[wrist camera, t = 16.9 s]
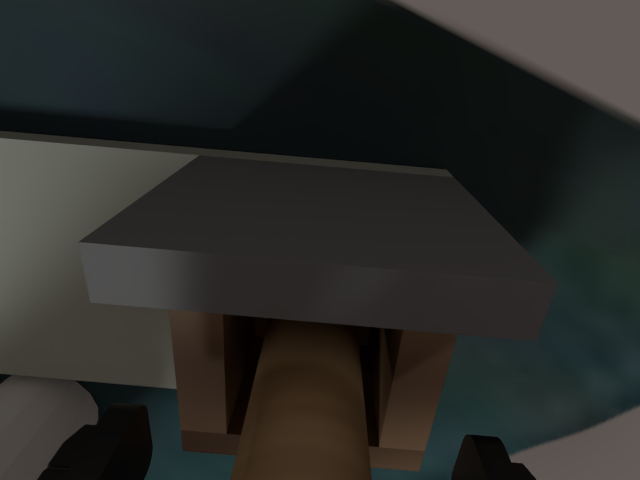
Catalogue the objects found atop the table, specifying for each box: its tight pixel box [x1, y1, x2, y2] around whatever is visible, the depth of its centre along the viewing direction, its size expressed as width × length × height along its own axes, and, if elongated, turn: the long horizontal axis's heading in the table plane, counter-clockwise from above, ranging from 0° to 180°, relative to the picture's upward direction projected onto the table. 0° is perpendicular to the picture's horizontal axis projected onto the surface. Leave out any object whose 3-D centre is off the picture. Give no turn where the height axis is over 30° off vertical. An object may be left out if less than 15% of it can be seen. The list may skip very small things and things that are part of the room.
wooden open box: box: [169, 309, 457, 471], centre depth 15 cm, size 7×8×6 cm
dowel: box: [231, 318, 372, 480], centre depth 11 cm, size 3×3×12 cm
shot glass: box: [0, 375, 98, 480], centre depth 20 cm, size 7×7×7 cm
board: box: [0, 131, 453, 389], centre depth 19 cm, size 12×23×1 cm, turn 86°
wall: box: [78, 155, 558, 341], centre depth 12 cm, size 2×10×8 cm, turn 86°
